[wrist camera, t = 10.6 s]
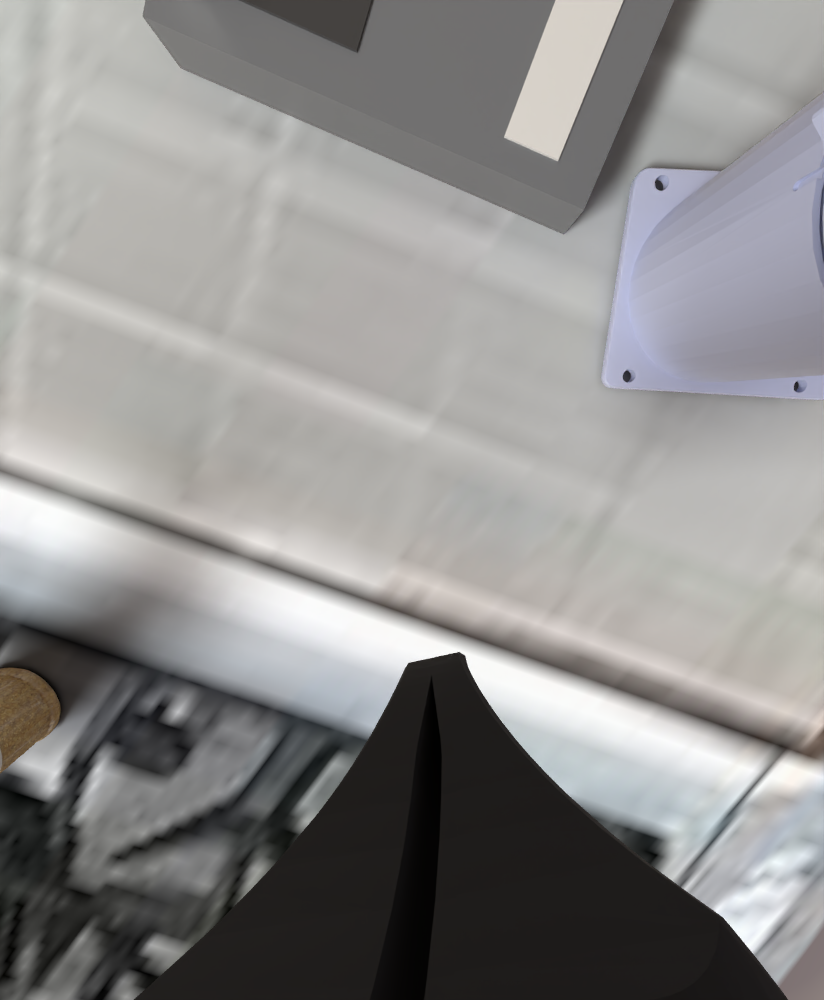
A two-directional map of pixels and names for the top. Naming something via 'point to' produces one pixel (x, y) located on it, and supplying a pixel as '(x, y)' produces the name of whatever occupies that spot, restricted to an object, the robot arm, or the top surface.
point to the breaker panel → (439, 81)
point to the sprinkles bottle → (24, 712)
